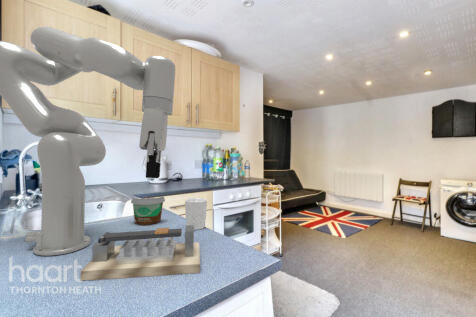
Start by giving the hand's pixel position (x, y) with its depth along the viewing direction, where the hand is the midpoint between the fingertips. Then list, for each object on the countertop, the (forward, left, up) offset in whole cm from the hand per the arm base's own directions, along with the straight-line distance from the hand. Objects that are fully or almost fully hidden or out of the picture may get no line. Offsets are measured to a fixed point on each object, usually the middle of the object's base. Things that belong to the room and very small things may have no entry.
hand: (152, 177), depth 60 cm
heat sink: (0, -5, -18) cm, 19 cm away
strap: (-1, -5, -14) cm, 15 cm away
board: (0, -5, -20) cm, 21 cm away
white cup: (+11, +22, -20) cm, 32 cm away
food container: (-7, +28, -20) cm, 35 cm away
